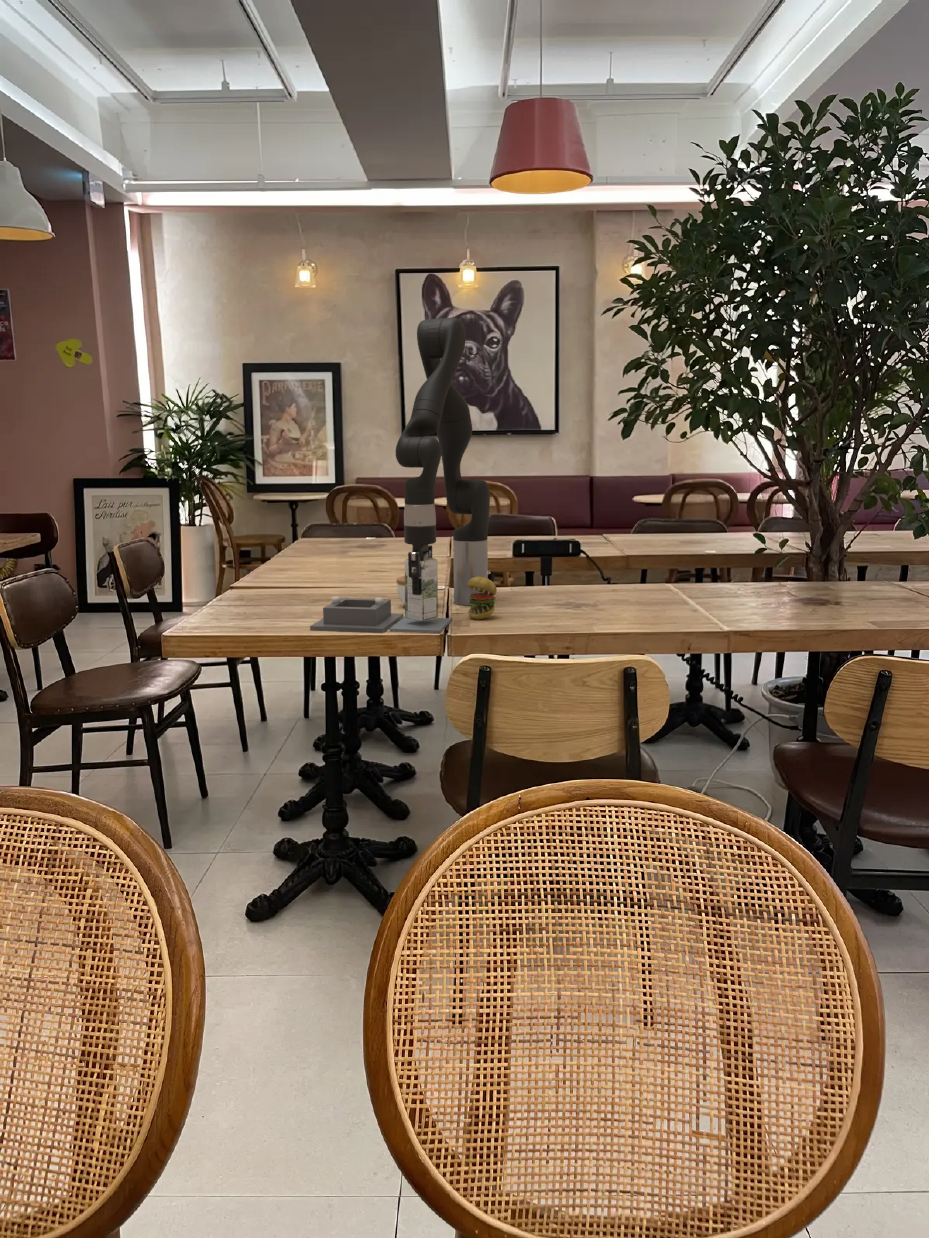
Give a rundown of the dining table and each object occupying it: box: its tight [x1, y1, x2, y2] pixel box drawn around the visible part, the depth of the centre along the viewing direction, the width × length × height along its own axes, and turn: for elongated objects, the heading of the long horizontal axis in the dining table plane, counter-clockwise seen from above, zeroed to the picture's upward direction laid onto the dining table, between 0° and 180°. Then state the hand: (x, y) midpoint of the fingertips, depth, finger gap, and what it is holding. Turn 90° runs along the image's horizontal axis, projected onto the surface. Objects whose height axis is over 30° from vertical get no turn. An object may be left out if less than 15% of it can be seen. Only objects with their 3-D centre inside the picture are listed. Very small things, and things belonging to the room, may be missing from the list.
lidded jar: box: [396, 575, 405, 606], centre depth 240 cm, size 11×11×9 cm
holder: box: [309, 595, 405, 634], centre depth 220 cm, size 18×18×6 cm
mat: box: [389, 616, 453, 634], centre depth 217 cm, size 14×12×1 cm
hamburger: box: [467, 569, 498, 621], centre depth 225 cm, size 8×7×12 cm
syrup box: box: [404, 557, 439, 621], centre depth 216 cm, size 6×6×14 cm
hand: (421, 591), depth 216 cm, fingers closed on syrup box, 7 cm apart
